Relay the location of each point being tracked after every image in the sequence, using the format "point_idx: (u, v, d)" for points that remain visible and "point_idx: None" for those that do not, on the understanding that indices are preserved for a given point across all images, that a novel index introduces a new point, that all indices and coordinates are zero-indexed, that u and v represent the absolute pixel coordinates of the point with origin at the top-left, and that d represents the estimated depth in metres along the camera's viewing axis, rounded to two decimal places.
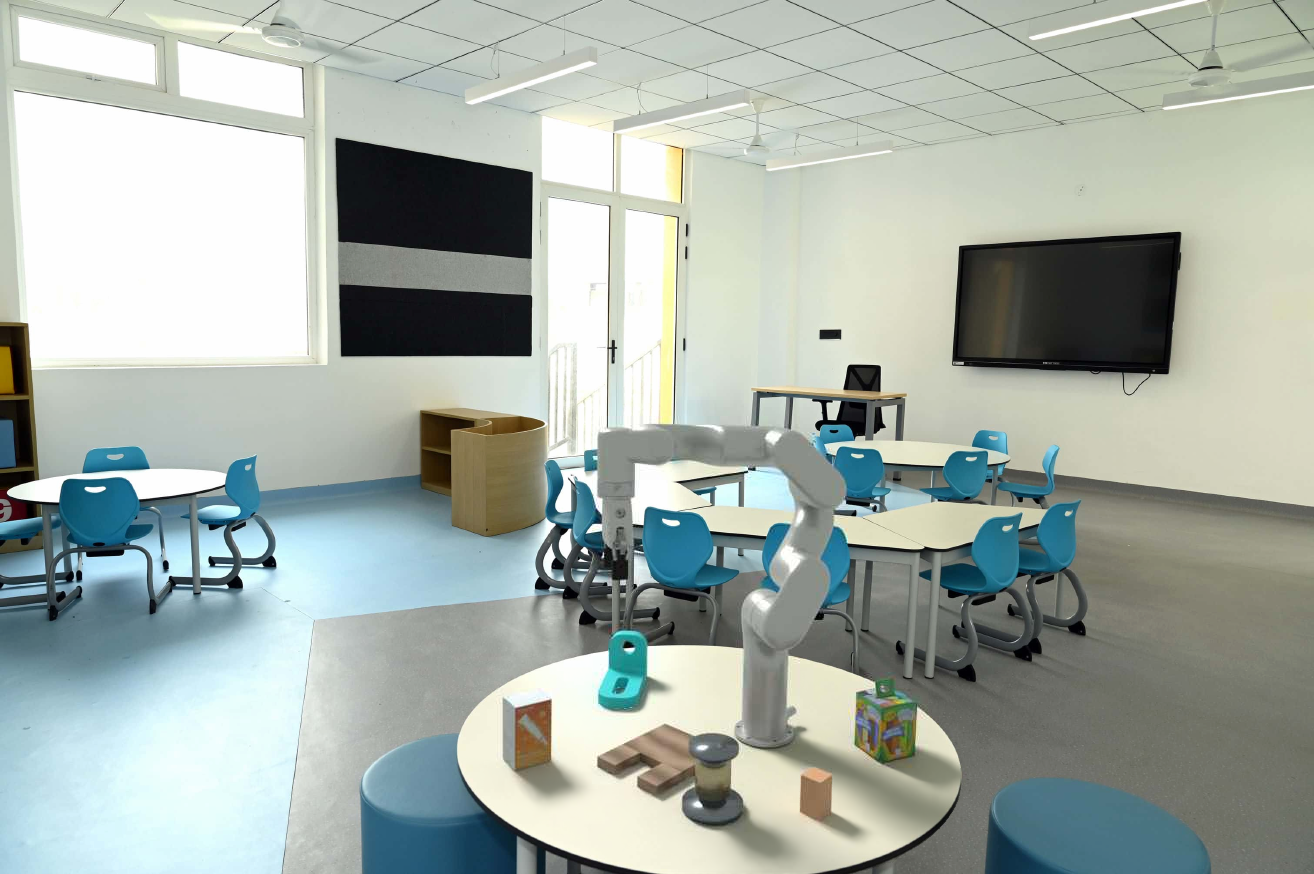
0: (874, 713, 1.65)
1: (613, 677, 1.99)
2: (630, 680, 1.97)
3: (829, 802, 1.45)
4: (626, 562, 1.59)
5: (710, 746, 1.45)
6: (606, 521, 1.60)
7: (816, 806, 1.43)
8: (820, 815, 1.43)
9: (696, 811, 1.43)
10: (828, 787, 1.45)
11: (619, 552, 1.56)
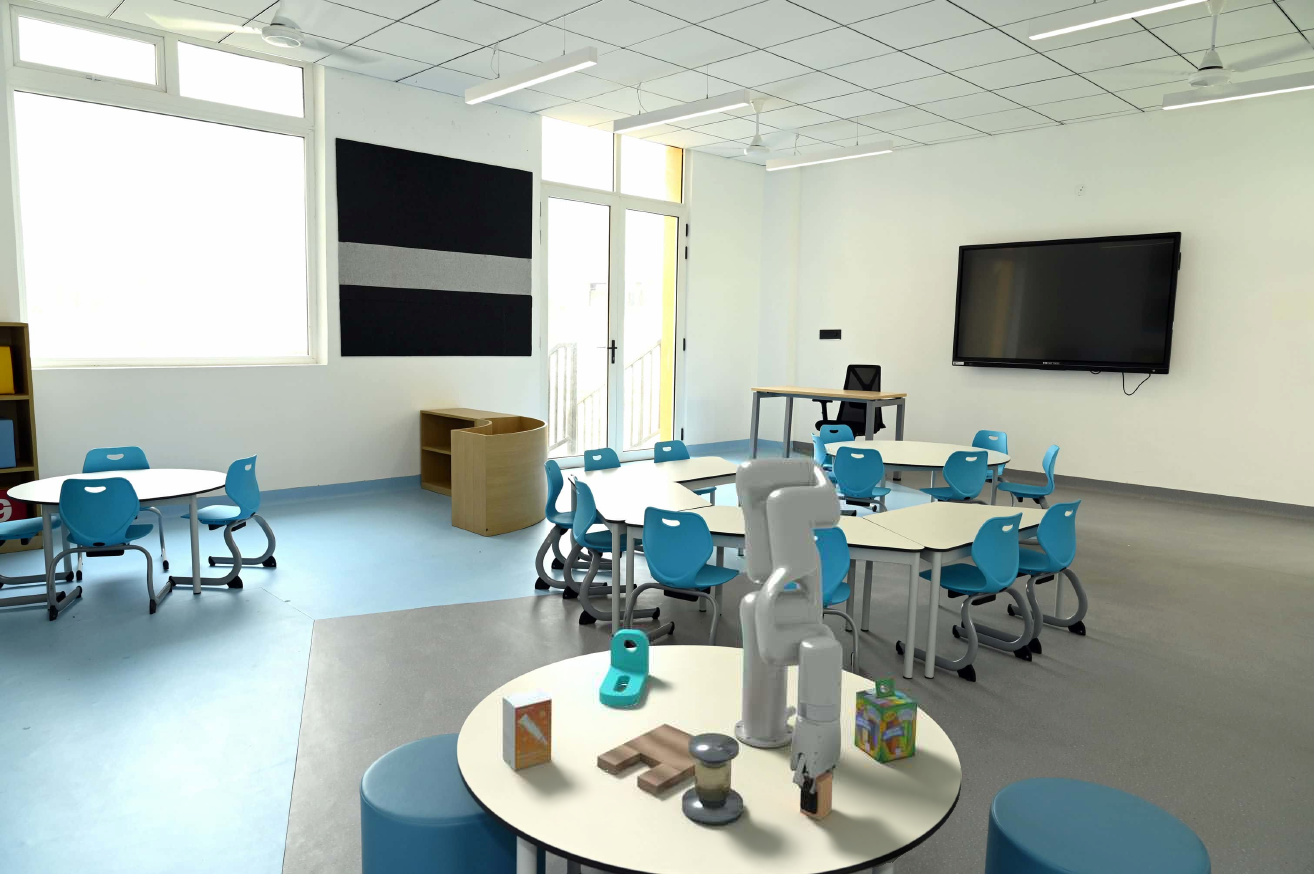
0: (874, 713, 1.65)
1: (614, 675, 2.00)
2: (631, 678, 1.98)
3: (829, 802, 1.45)
4: None
5: (710, 746, 1.45)
6: (837, 738, 1.45)
7: None
8: (820, 815, 1.43)
9: (696, 811, 1.43)
10: (828, 787, 1.45)
11: None
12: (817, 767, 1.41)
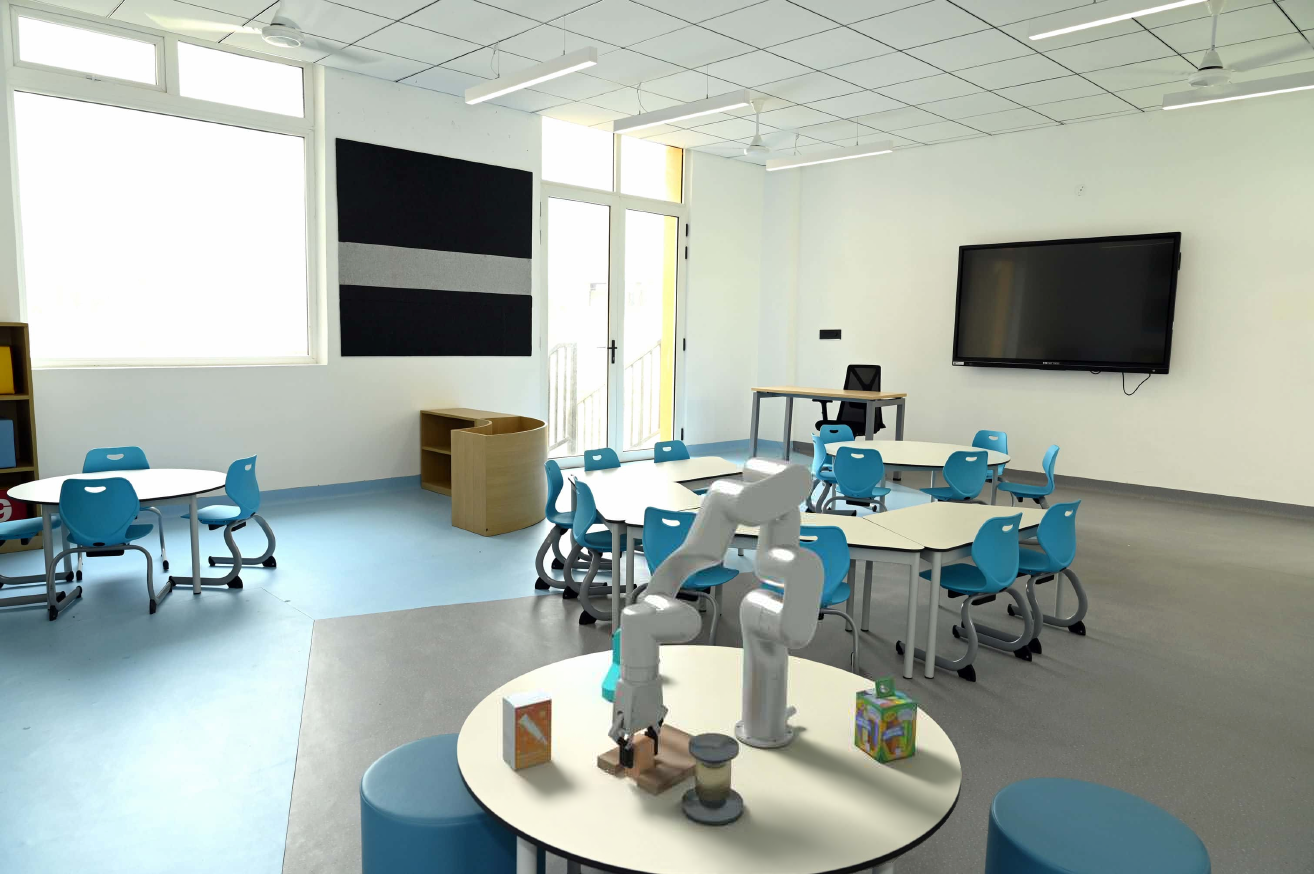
0: (874, 713, 1.65)
1: (616, 671, 2.03)
2: None
3: (651, 765, 1.58)
4: None
5: (710, 746, 1.45)
6: (657, 698, 1.57)
7: (636, 768, 1.56)
8: None
9: (696, 811, 1.43)
10: (649, 751, 1.57)
11: None
12: (634, 724, 1.53)
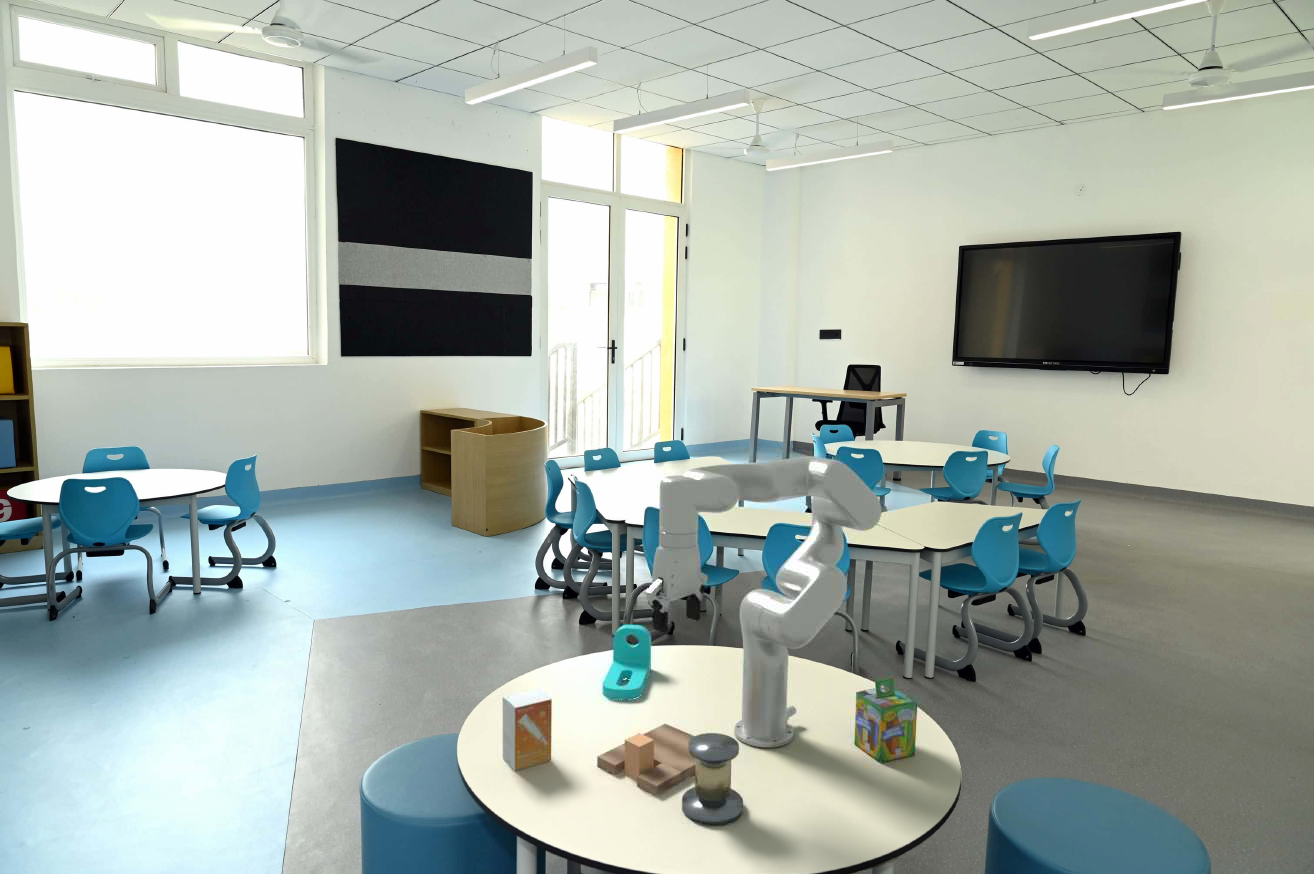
0: (874, 713, 1.65)
1: (617, 669, 2.04)
2: (634, 673, 2.02)
3: (651, 765, 1.58)
4: None
5: (710, 746, 1.45)
6: (695, 568, 1.60)
7: (636, 768, 1.56)
8: None
9: (696, 811, 1.43)
10: (649, 751, 1.57)
11: None
12: (674, 590, 1.55)
